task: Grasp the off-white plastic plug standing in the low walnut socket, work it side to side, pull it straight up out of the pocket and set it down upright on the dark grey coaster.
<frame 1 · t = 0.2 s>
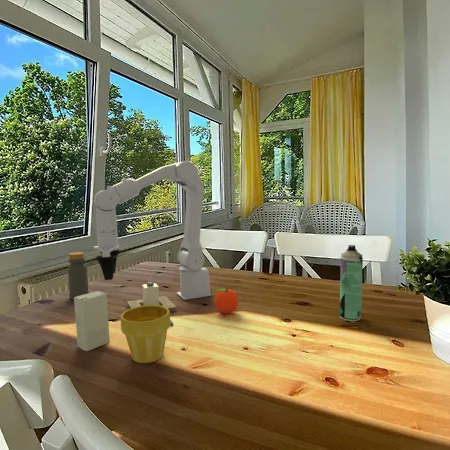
hand: (110, 276, 106), 10 cm above the table, tool pointing down, fingers open, 7 cm apart
plant pot: (147, 357, 77), on the table
bottle: (79, 297, 119), on the table
coaster: (154, 322, 95), on the table
plug: (150, 295, 107), in the holder
skincare box: (93, 346, 82), on the table
spray can: (350, 319, 96), on the table
holder: (151, 308, 107), on the table
clementine: (224, 313, 102), on the table
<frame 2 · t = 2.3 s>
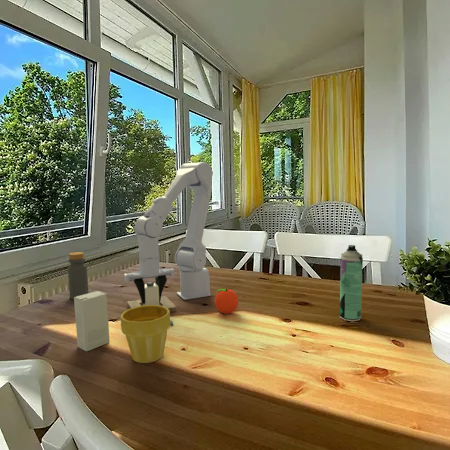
hand: (150, 301, 107), 2 cm above the table, tool pointing down, fingers closed on plug, 4 cm apart
plug: (150, 295, 107), in the holder, touching gripper
everything else where it was.
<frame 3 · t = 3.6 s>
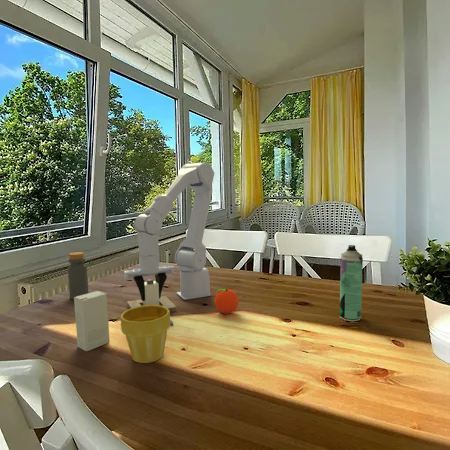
hand: (150, 298, 107), 3 cm above the table, tool pointing down, fingers closed on plug, 4 cm apart
plug: (150, 293, 106), point 5 cm above the table, touching gripper
everything else where it was.
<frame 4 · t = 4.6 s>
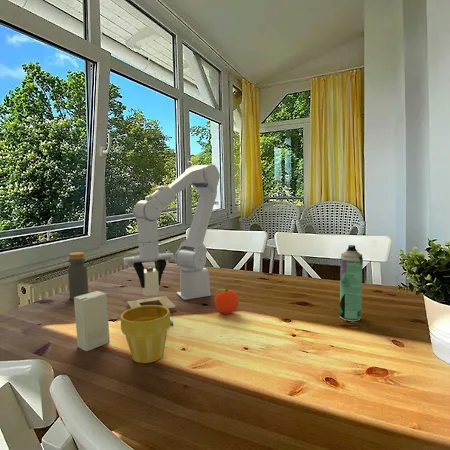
hand: (150, 285, 106), 7 cm above the table, tool pointing down, fingers closed on plug, 4 cm apart
plug: (150, 280, 106), point 8 cm above the table, touching gripper
everything else where it was.
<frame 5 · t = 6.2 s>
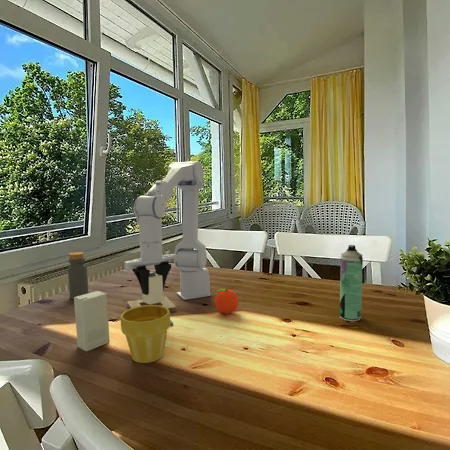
hand: (153, 292, 94), 8 cm above the table, tool pointing down, fingers closed on plug, 4 cm apart
plug: (152, 287, 94), point 10 cm above the table, touching gripper
everything else where it was.
when the fingers open (4 cm above the table, at t = 7.4 s): plug stays where it is, resting on coaster.
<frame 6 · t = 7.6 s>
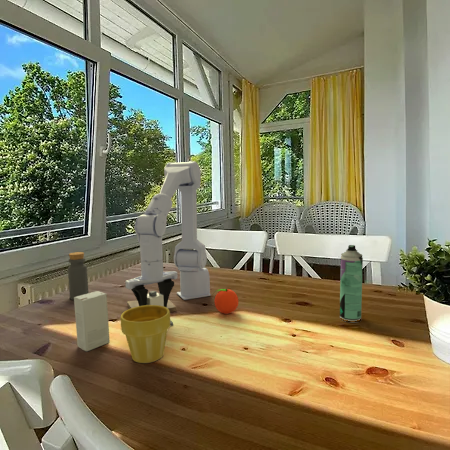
hand: (153, 309, 95), 4 cm above the table, tool pointing down, fingers open, 5 cm apart
plug: (153, 306, 95), on the coaster, point 4 cm above the table
everything else where it was.
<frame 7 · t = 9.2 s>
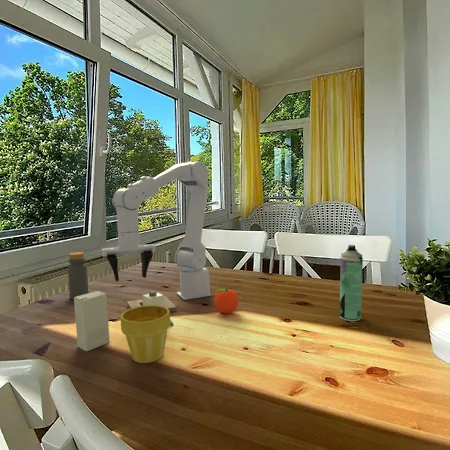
hand: (130, 278, 101), 10 cm above the table, tool pointing down, fingers open, 7 cm apart
nothing on the table moved.
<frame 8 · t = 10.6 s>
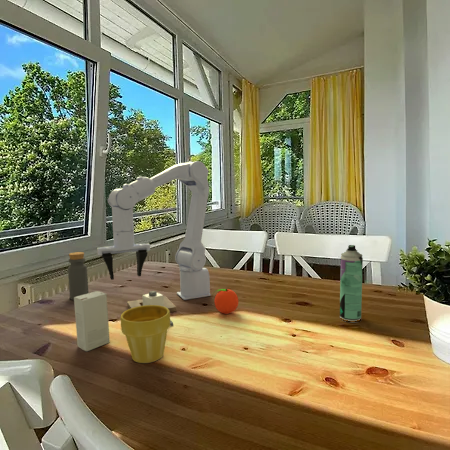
hand: (125, 277, 103), 10 cm above the table, tool pointing down, fingers open, 7 cm apart
nothing on the table moved.
at the end: plug inside the target area (0.2 cm from its centre), point 4.5 cm above the table; plug tilted 0°; plug touching coaster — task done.
